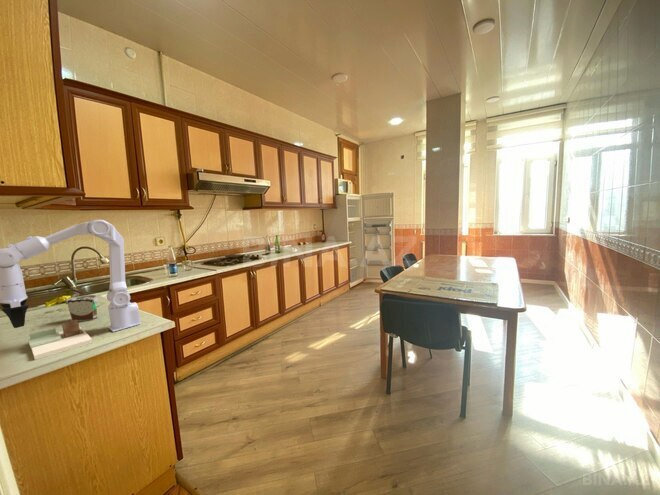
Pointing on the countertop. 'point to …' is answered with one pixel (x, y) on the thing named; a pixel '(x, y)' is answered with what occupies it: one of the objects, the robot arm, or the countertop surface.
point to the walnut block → (71, 328)
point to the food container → (83, 307)
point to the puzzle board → (61, 344)
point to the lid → (43, 337)
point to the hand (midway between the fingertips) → (18, 324)
